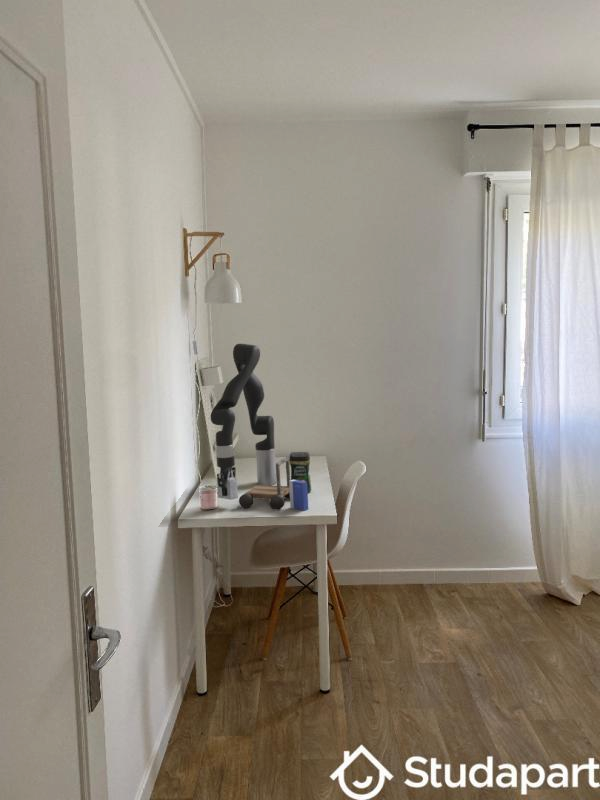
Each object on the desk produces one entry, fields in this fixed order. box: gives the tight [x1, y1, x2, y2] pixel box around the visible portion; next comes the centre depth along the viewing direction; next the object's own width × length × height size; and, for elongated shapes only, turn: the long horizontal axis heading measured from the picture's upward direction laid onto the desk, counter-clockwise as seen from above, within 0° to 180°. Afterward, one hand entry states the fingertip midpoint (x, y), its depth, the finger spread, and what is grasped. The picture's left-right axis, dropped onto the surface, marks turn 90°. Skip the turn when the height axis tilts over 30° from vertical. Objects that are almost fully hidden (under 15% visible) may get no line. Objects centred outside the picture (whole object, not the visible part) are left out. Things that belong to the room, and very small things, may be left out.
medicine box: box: [216, 477, 239, 501], centre depth 279 cm, size 8×4×9 cm, turn 52°
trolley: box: [238, 456, 291, 511], centre depth 281 cm, size 18×20×19 cm
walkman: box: [289, 479, 309, 511], centre depth 271 cm, size 8×3×12 cm, turn 47°
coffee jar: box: [289, 451, 312, 494], centre depth 297 cm, size 10×8×19 cm
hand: (227, 493), depth 279 cm, fingers closed on medicine box, 5 cm apart
